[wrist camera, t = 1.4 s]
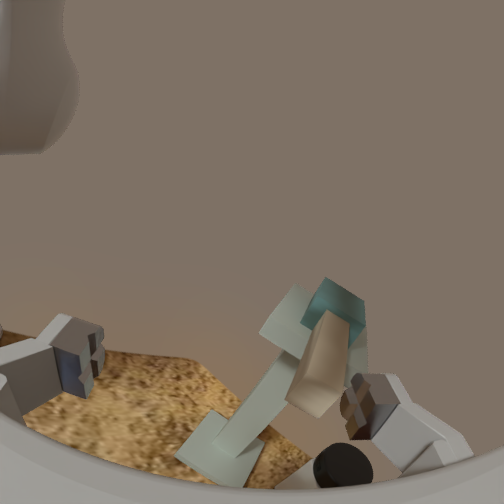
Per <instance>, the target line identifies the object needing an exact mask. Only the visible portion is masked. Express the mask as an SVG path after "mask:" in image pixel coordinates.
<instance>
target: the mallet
mask: <svg viewBox="0 0 504 504" xmlns="http://www.w3.org/2000/svg"><path fill="white" fill-rule="evenodd" d="M300 323H301V324H302V325H304V326H305V327H307V328H309V329H310V330H312V332H311V335H310V337H309V340H308V343H307V345H306V348H305V350H304V353H303V356H302V358H301V361H300V363H299V366H298V368H297V370H296V373H295V375H294V378H293V380H292V383H291V385H290V387H289V390H288V392H287V394H286V397H285V399H284V400H285V401H287V402H289V403H290V404H292V405H294V406H295V407H297V408H299V409H301V410H302V411H304V412H306V413H308V414H310V415H312V416H313V417H315V418H317V419H319V418H320V417H321V416H322V415H323V414H324V412H326V411H327V409H328V408H329V407H330V406H331V405H332V404H333V403H334V402H335V401H336V400H337V399H338V398H339V397H340V396H341V395H342V394H343V387H344V379H345V370H346V361H347V351H348V349H349V347H350V346H351V345H352V344H353V342H354V341H355V340H356V338H357V337H358V336H359V334H360V333H361V332H362V330H363V329H364V328H365V326H366V321H365V306H364V301H363V300H362V299H360V298H358V297H357V296H355V295H354V294H352V293H351V292H349V291H347V290H346V289H344V288H343V287H341V286H339V285H338V284H336V283H335V282H333V281H331V280H330V279H328V278H326V277H325V279H324V280H323V282H322V283H321V285H320V287H319V288H318V290H317V291H316V293H315V294H314V296H313V297H312V299H311V301H310V303H309V305H308V307H307V309H306V311H305V313H304V315H303V317H302V319H301V321H300Z"/></svg>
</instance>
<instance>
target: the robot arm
mask: <svg viewBox="0 0 504 504" xmlns="http://www.w3.org/2000/svg"><path fill="white" fill-rule="evenodd" d="M64 4H65V0H0V155H15V154H16V155H19V154H41V153H43V152H44V151H46V150H47V149H48V148H50V147H51V146H52V145H53V144H54V143H55V142H56V141H57V140H58V139H59V138H60V137H61V136H62V135H63V133H64V132H65V130H66V129H67V127H68V126H69V124H70V123H71V120H72V119H73V116H74V114H75V111H76V108H77V105H78V100H79V91H80V83H79V76H78V72H77V69H76V66H75V64H74V62H73V61H72V59H71V57H70V55H69V52H68V50H67V47H66V44H65V40H64V34H63V24H62V23H63V9H64ZM2 334H3V331H2V326H1V325H0V338H1V337H2ZM103 339H104V330H103V328H102V327H101V326H98V325H95V324H92V323H89V322H86V321H84V320H81V319H78V318H74V317H72V316H69V315H66V314H64V313H60V314H58V315H57V316H56V317H55V318H54V319H53V320H52V321H51V322H50V323H49V325H48V326H47V327H46V328H45V329H44V330H43V331H42V332H41V333H40V335H39V336H38V337H37V338H36V339H33V338H30V339H26V340H23V341H20V342H17V343H13V344H10V345H7V346H4V347H0V504H504V445H503V446H500V447H498V448H496V449H494V450H491V451H489V452H486V453H484V454H481V455H478V456H476V457H475V456H474V454H473V453H472V451H471V449H470V447H469V445H468V444H467V442H466V440H465V439H464V437H463V435H462V434H460V433H459V432H458V431H456V430H454V429H453V428H452V427H450V426H449V425H447V424H446V423H444V422H443V421H441V420H440V419H438V418H437V417H435V416H434V415H433V414H431V413H430V412H428V411H427V410H425V409H424V408H422V407H421V406H419V405H418V404H413V402H412V400H411V399H410V397H409V396H408V394H407V392H406V390H405V388H404V387H403V385H402V383H401V382H400V380H399V379H398V377H397V375H395V374H391V373H385V374H384V373H382V374H374V373H356V374H355V375H354V376H353V377H352V379H351V381H350V382H351V387H350V388H348V389H347V390H345V391H344V393H343V396H342V397H341V402H340V411H341V415H342V417H344V418H345V419H346V420H347V423H346V425H345V427H346V430H347V433H348V436H349V439H350V440H371V441H372V442H373V443H374V444H375V445H376V446H377V448H378V449H379V450H380V451H382V453H383V454H384V455H385V456H386V457H387V458H388V459H389V460H390V461H391V462H392V463H393V464H394V465H395V466H396V467H397V468H398V469H399V470H400V471H401V472H402V474H401V475H400V476H399V477H398V478H397V479H393V480H388V481H382V482H376V483H369V484H362V485H354V486H345V487H334V488H319V489H256V488H241V487H230V486H221V485H213V484H206V483H199V482H193V481H187V480H181V479H176V478H171V477H166V476H162V475H157V474H153V473H149V472H145V471H141V470H137V469H134V468H130V467H127V466H123V465H120V464H117V463H114V462H110V461H107V460H104V459H101V458H99V457H96V456H93V455H90V454H87V453H85V452H82V451H80V450H77V449H75V448H72V447H70V446H67V445H65V444H63V443H60V442H58V441H56V440H54V439H51V438H49V437H47V436H45V435H43V434H41V433H39V432H37V431H35V430H33V429H31V428H29V427H27V425H26V423H25V421H24V419H23V417H22V416H23V415H25V414H27V413H28V412H30V411H32V410H34V409H35V408H37V407H39V406H40V405H42V404H44V403H46V402H47V401H49V400H51V399H52V398H54V397H56V396H57V395H59V394H61V393H62V391H64V392H66V393H69V394H72V395H75V396H78V397H80V398H83V399H87V398H88V396H89V394H90V392H91V390H92V388H93V386H94V382H93V378H95V377H98V376H99V375H100V373H101V371H102V368H103V364H104V359H105V349H104V347H103V346H102V344H101V342H102V340H103Z"/></svg>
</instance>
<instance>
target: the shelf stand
mask: <svg viewBox="0 0 504 504" xmlns="http://www.w3.org/2000/svg"><path fill="white" fill-rule="evenodd" d="M313 296H314V294H312V293H311V292H309V291H308V290H306V289H305V288H303V287H301V286H300V285H298V284H297V283H295V284H294V285H293V287H292V288H291V289H290V291H289V292H288V293H287V294H286V296H285V297H284V298H283V300H282V301H281V302H280V303H279V305H278V306H277V307H276V309H275V310H274V311H273V312H272V313H271V315H270V316H269V318H268V319H267V321H266V322H265V324H264V325H263V327H262V329H261V330H260V332H259V334H260V335H262V336H263V337H265V338H266V339H268V340H270V341H271V342H273V343H274V344H276V345H277V346H279V347H280V348H282V351H281V352H280V353H279V355H278V356H277V358H276V359H275V360H274V362H273V363H272V364H271V366H270V367H269V368H268V370H267V371H266V373H265V374H264V375H263V377H262V378H261V379H260V381H259V382H258V383H257V384H256V386H255V387H254V388H253V390H252V391H251V392H250V394H249V395H248V396H247V398H246V399H245V400H244V401H243V403H242V404H241V405H240V406H239V408H238V409H237V410H236V411H235V413H234V414H233V415H232V416H231V418H230V419H229V420H227V419H226V418H224V417H223V416H221V415H220V414H218V413H217V412H215V411H214V410H211V411H210V412H209V413H208V415H207V416H206V417H205V418H204V420H203V421H202V422H201V423H200V425H199V426H198V427H197V428H196V430H195V431H194V432H193V433H192V434H191V436H190V437H189V438H188V439H187V441H186V442H185V443H184V444H183V445H182V447H181V448H180V449H179V450H178V451H177V452H176V454H175V455H174V456H175V457H176V458H177V459H179V460H180V461H182V462H183V463H185V464H186V465H188V466H189V467H191V468H192V469H194V470H195V471H197V472H199V473H200V474H202V475H203V476H205V477H207V478H208V479H210V480H212V481H213V482H215V483H217V484H218V485H221V486H230V487H241V488H243V486H244V484H245V482H246V480H247V478H248V476H249V474H250V472H251V470H252V468H253V466H254V464H255V462H256V460H257V458H258V456H259V454H260V452H261V450H262V448H263V446H264V444H265V442H263V441H262V440H260V439H258V438H256V437H257V436H258V435H259V434H260V433H261V432H262V431H263V430H264V429H265V428H266V426H267V425H268V424H269V423H270V422H271V421H272V420H273V419H274V418H275V417H276V416H277V415H278V414H279V413H280V411H281V410H282V409H283V408H284V407H285V406H286V405H287V404H288V403H289V402H287V401H285V400H284V399H285V397H286V394H287V392H288V390H289V387H290V385H291V383H292V380H293V378H294V375H295V373H296V370H297V368H298V366H299V363H300V361H301V358H302V356H303V353H304V350H305V348H306V345H307V343H308V340H309V337H310V335H311V332H312V330H310V329H309V328H307V327H305V326H304V325H302V324H301V323H300V321H301V319H302V317H303V315H304V313H305V311H306V309H307V307H308V305H309V303H310V301H311V299H312V297H313ZM356 373H368V352H367V331H366V327H365V328H364V329H363V330H362V332H361V333H360V334H359V336H358V337H357V338H356V340H355V341H354V342H353V344H352V345H351V346H350V347H349V349H348V351H347V361H346V370H345V379H344V386H345V387H347V388H350V387H351V382H350V381H351V379H352V377H353V376H354V375H355V374H356Z"/></svg>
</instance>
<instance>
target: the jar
mask: <svg viewBox="0 0 504 504" xmlns="http://www.w3.org/2000/svg"><path fill="white" fill-rule="evenodd" d="M372 479H373V469H372V466H371V464H370V462H369V460H368V458H367V457H366V456H365V455H364V454H363V453H362V452H361V451H360V450H359V449H357V448H356V447H354V446H352V445H350V444H347V443H335V444H332V445H330V446H329V447H327V448H326V449H325V450H323V451H322V452H321V453H320V454H319V455H318V456H317V457H315V458H313V459H311V460H310V461H308V462H307V463H306V464H305V465H303V466H302V467H301V468H299V469H298V470H297V471H295V472H294V473H293V474H291V475H290V476H289V477H287V478H286V479H284V480H283V481H282V482H280V483H279V484H277V485H276V486H275V487H274V488H275V489H319V488H334V487H345V486H354V485H362V484H369V483H371V482H372Z"/></svg>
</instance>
